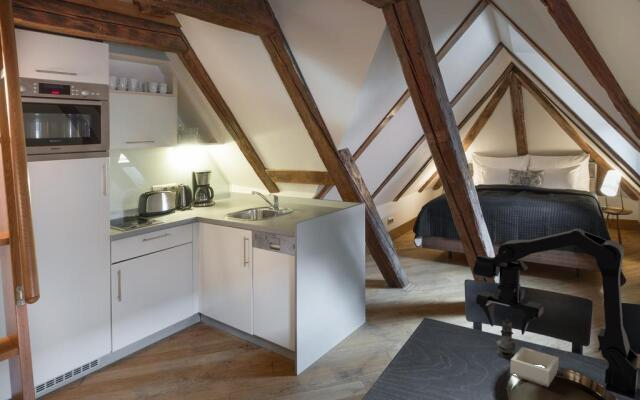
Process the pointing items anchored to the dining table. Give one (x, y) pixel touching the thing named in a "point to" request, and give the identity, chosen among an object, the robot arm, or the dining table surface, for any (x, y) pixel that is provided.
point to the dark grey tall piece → (506, 341)
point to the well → (526, 367)
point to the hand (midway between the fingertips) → (507, 330)
